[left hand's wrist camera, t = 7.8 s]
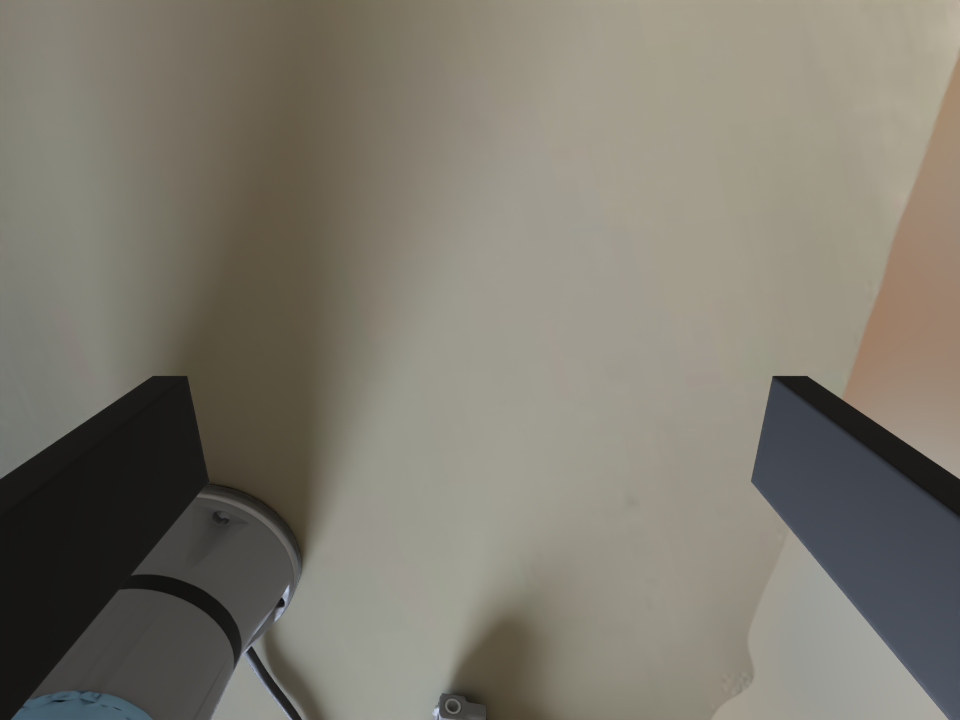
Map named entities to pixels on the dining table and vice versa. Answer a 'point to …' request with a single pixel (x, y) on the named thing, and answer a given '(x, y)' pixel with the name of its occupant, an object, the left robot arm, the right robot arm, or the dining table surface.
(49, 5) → the dining table surface
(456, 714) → the pistol
